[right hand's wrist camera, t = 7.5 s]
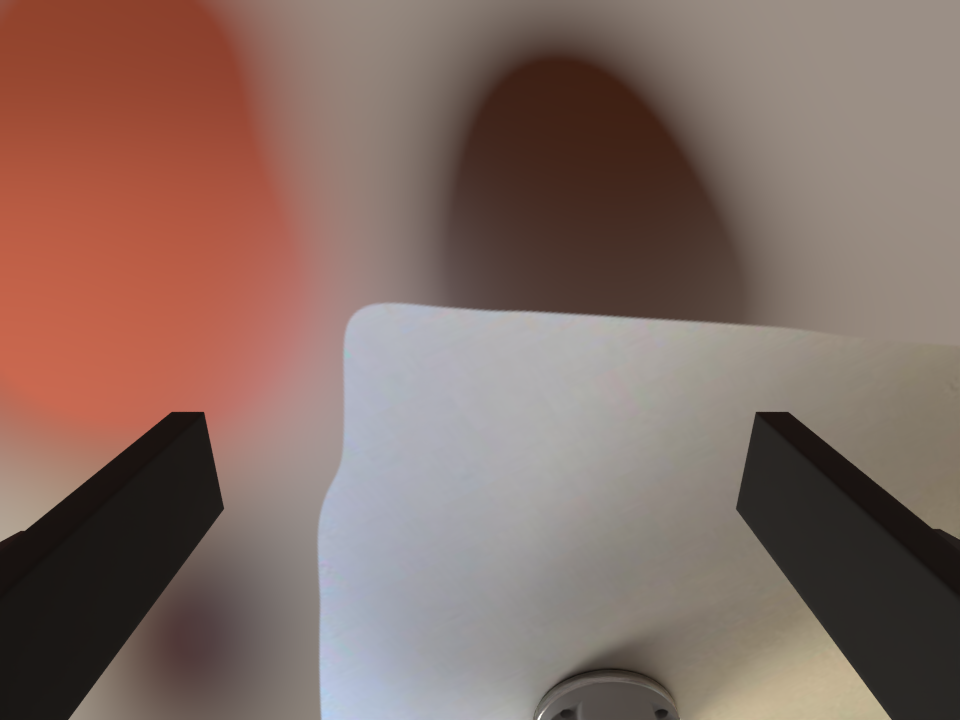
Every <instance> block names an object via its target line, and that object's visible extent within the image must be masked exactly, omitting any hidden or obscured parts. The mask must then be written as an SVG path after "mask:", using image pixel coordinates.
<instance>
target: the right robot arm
mask: <svg viewBox="0 0 960 720" xmlns="http://www.w3.org/2000/svg"><path fill="white" fill-rule="evenodd" d="M223 509H224V506H223V502H222V497H221V492H220V487H219V482H218V477H217V472H216V468H215V463H214V458H213V453H212V448H211V443H210V439H209V434H208V429H207V424H206V419H205V414H204V412H171V413H170V414H169V415H167V416H166V417H165V418H164V419H162V420H161V421H160V422H159V423H158V424H156V425H155V426H154V427H153V428H151V429H150V430H149V431H148V432H146V433H145V434H144V435H143V436H142V437H140V438H139V439H138V440H137V441H135V442H134V443H133V444H132V445H130V446H129V447H128V448H127V449H125V450H124V451H123V452H122V453H121V454H119V455H118V456H117V457H116V458H114V459H113V460H112V461H111V462H109V463H108V464H107V465H106V466H105V467H103V468H102V469H101V470H100V471H98V472H97V473H96V474H95V475H93V476H92V477H91V478H90V479H88V480H87V481H86V482H85V483H83V484H82V485H81V486H80V487H79V488H77V489H76V490H75V491H74V492H72V493H71V494H70V495H69V496H67V497H66V498H65V499H64V500H63V501H61V502H60V503H59V504H58V505H56V506H55V507H54V508H53V509H51V510H50V511H49V512H48V513H46V514H45V515H44V516H43V517H42V518H40V519H39V520H38V521H37V522H35V523H34V524H33V525H32V526H30V527H29V528H28V529H27V530H26V531H20V532H18V533H16V534H14V535H12V536H11V537H9V538H7V539H5V540H3V541H1V542H0V720H68V719H69V718H70V717H71V715H72V714H73V712H74V711H75V710H76V708H77V707H78V706H79V704H80V703H81V702H82V700H83V699H84V698H85V696H86V695H87V694H88V692H89V691H90V690H91V688H92V687H93V685H94V684H95V683H96V681H97V680H98V679H99V677H100V676H101V675H102V673H103V672H104V671H105V669H106V668H107V667H108V665H109V664H110V662H111V661H112V660H113V658H114V657H115V656H116V654H117V653H118V652H119V650H120V649H121V648H122V646H123V645H124V644H125V642H126V641H127V639H128V638H129V637H130V635H131V634H132V633H133V631H134V630H135V629H136V627H137V626H138V625H139V623H140V622H141V621H142V619H143V618H144V616H145V615H146V614H147V612H148V611H149V610H150V608H151V607H152V606H153V604H154V603H155V602H156V600H157V599H158V597H159V596H160V595H161V593H162V592H163V591H164V589H165V588H166V587H167V585H168V584H169V583H170V581H171V580H172V579H173V577H174V576H175V574H176V573H177V572H178V570H179V569H180V568H181V566H182V565H183V564H184V562H185V561H186V560H187V558H188V557H189V556H190V554H191V553H192V551H193V550H194V549H195V547H196V546H197V545H198V543H199V542H200V541H201V539H202V538H203V537H204V535H205V534H206V532H207V531H208V530H209V528H210V527H211V526H212V524H213V523H214V522H215V520H216V519H217V518H218V516H219V515H220V514H221V512H222V511H223ZM736 510H737V511H738V512H739V514H740V515H741V516H742V518H743V519H744V520H745V522H746V523H747V524H748V526H749V527H750V528H751V530H752V531H753V533H754V534H755V535H756V537H757V538H758V539H759V541H760V542H761V543H762V545H763V546H764V547H765V549H766V550H767V551H768V553H769V554H770V556H771V557H772V558H773V560H774V561H775V562H776V564H777V565H778V566H779V568H780V569H781V570H782V572H783V573H784V574H785V576H786V577H787V579H788V580H789V581H790V583H791V584H792V585H793V587H794V588H795V589H796V591H797V592H798V593H799V595H800V596H801V598H802V599H803V600H804V602H805V603H806V604H807V606H808V607H809V608H810V610H811V611H812V612H813V614H814V615H815V616H816V618H817V619H818V621H819V622H820V623H821V625H822V626H823V627H824V629H825V630H826V631H827V633H828V634H829V635H830V637H831V638H832V639H833V641H834V642H835V644H836V645H837V646H838V648H839V649H840V650H841V652H842V653H843V654H844V656H845V657H846V658H847V660H848V661H849V662H850V664H851V665H852V667H853V668H854V669H855V671H856V672H857V673H858V675H859V676H860V677H861V679H862V680H863V681H864V683H865V684H866V686H867V687H868V688H869V690H870V691H871V692H872V694H873V695H874V696H875V698H876V699H877V700H878V702H879V703H880V704H881V706H882V707H883V709H884V710H885V711H886V713H887V714H888V715H889V717H890V718H891V719H892V720H960V540H959V539H957V538H956V537H954V536H952V535H950V534H948V533H946V532H944V531H942V530H941V529H932V528H931V527H930V526H928V525H927V524H926V523H925V522H923V521H922V520H921V519H920V518H918V517H917V516H916V515H915V514H914V513H912V512H911V511H910V510H909V509H907V508H906V507H905V506H904V505H902V504H901V503H900V502H899V501H897V500H896V499H895V498H894V497H893V496H891V495H890V494H889V493H888V492H886V491H885V490H884V489H883V488H881V487H880V486H879V485H878V484H876V483H875V482H874V481H873V480H872V479H870V478H869V477H868V476H867V475H865V474H864V473H863V472H862V471H860V470H859V469H858V468H857V467H856V466H854V465H853V464H852V463H851V462H849V461H848V460H847V459H846V458H844V457H843V456H842V455H841V454H839V453H838V452H837V451H836V450H835V449H833V448H832V447H831V446H830V445H828V444H827V443H826V442H825V441H823V440H822V439H821V438H820V437H818V436H817V435H816V434H815V433H814V432H812V431H811V430H810V429H809V428H807V427H806V426H805V425H804V424H802V423H801V422H800V421H799V420H798V419H796V418H795V417H794V416H793V415H791V414H790V413H789V412H756V414H755V419H754V424H753V429H752V434H751V439H750V443H749V448H748V453H747V458H746V463H745V468H744V472H743V477H742V482H741V487H740V492H739V497H738V502H737V506H736ZM534 720H680V718H679V715H678V712H677V709H676V707H675V704H674V701H673V699H672V697H671V696H670V694H669V693H668V692H667V691H666V690H665V689H664V688H663V687H662V686H661V685H660V684H658V683H657V682H655V681H654V680H652V679H650V678H648V677H646V676H643V675H641V674H637V673H634V672H629V671H622V670H599V671H592V672H587V673H583V674H580V675H577V676H574V677H572V678H569V679H567V680H565V681H563V682H562V683H560V684H558V685H557V686H555V687H554V688H553V689H552V690H550V691H549V692H548V693H547V694H546V695H545V696H544V697H543V699H542V700H541V701H540V703H539V705H538V707H537V709H536V711H535V715H534Z"/></svg>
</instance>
